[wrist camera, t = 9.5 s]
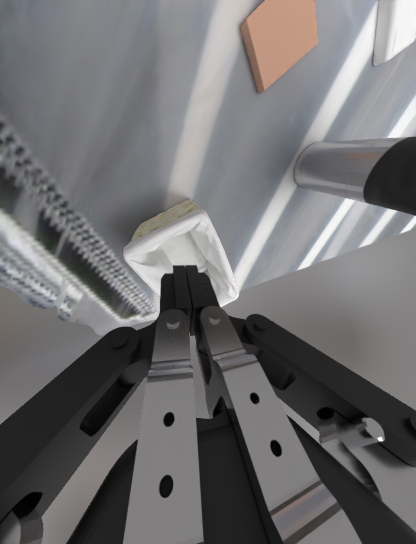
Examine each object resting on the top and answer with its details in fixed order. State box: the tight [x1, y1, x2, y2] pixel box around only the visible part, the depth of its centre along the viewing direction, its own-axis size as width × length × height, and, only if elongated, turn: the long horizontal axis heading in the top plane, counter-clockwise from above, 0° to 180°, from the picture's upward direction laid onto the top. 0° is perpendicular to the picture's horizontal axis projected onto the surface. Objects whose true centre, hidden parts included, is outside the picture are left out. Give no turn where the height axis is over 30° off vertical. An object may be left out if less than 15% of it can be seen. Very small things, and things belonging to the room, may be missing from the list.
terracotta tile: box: [240, 0, 318, 93], centre depth 25 cm, size 3×8×10 cm
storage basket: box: [123, 199, 239, 307], centre depth 38 cm, size 24×16×15 cm
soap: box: [373, 0, 416, 66], centre depth 27 cm, size 9×6×3 cm, turn 30°
